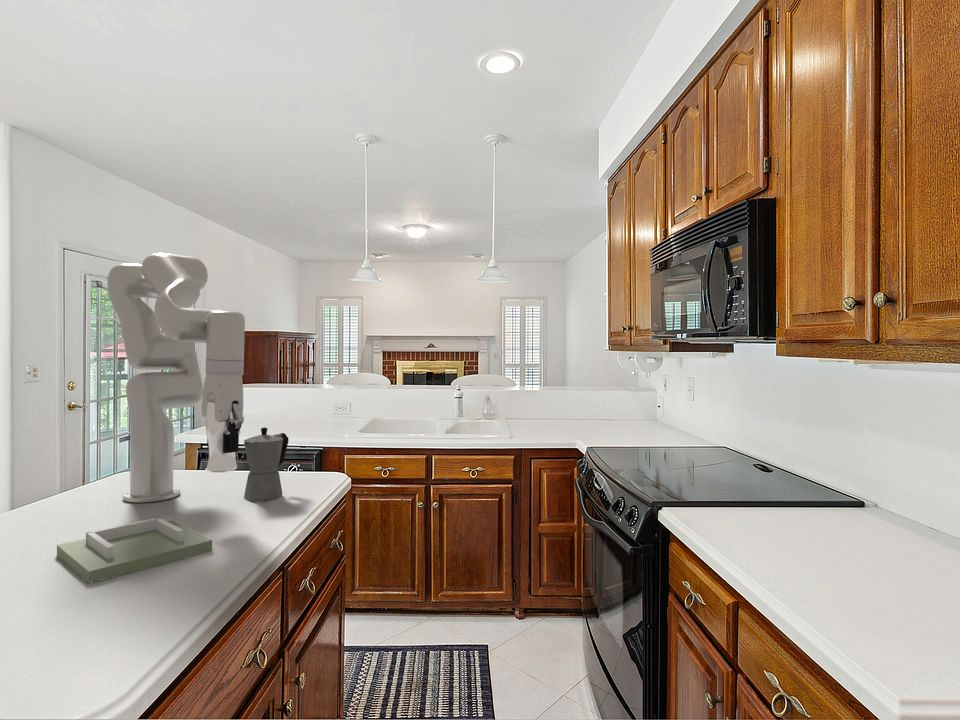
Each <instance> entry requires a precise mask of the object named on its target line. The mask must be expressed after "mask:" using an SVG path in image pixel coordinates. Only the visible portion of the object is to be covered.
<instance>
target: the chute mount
mask: <svg viewBox="0 0 960 720" xmlns="http://www.w3.org/2000/svg"><path fill="white" fill-rule="evenodd" d="M212 551H213V539H211V538H210V537H209V538H208V537H207V536H205V535H203V534H201V533H199V532H197V531H195V530H193V529H191V528H189V527H187V526H186V525H183V524H181V523H179V522H177V521H175V520H173V519H172V520H167V521H166V520H165V519H163V518H161V517H159V516H158V517H153V518H149V519H144V520H140V521H135V522H130V523H125V524H121V525H116V526H111V527H106V528H101V529H96V530H91V531H87V532H85V538H84V539H83V538H82V539H79V540H73V541H69V542H68V541H67V542H65V543H59V544H56V556H57V557H58V558H59V559H60V560H61V561H62V562H64V564H66V566H68V567H69V568H70V567H71V568H72V569H71V568H70V569H71V570H72V571H73V572H75V573H76V574H77V575H78V574H79V575H80V578H81V579H83V580H84V579H85V580H86V581H87V582H86V581H85V580H84V581H85V582H86V583H88V584H89V583H90V584H92V583H91V582H93V583H96V582H95V581H97V582H99V581H98V580H101V579H105V578H108V579H110V578H109V577H112V578H114V577H113V576H116V577H118V576H117V575H120V576H122V574H123V575H126V574H125V573H127V574H129V572H131V573H133V571H134V572H138V571H141V569H142V570H145V569H144V568H146V569H149V568H152V567H151V566H153V567H156V566H160V564H161V565H164V564H167V562H168V563H171V561H172V562H175V561H178V560H177V559H179V560H182V559H181V558H183V559H186V558H185V557H187V558H190V557H194V556H196V555H197V554H198V555H201V554H205V553H208V552H212ZM204 552H205V553H204ZM193 555H194V556H193ZM189 556H190V557H189ZM174 560H175V561H174ZM148 567H149V568H148ZM137 570H138V571H137ZM79 575H78V576H79ZM105 580H106V579H105ZM101 581H102V580H101Z"/></svg>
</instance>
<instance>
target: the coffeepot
mask: <svg viewBox="0 0 960 720" xmlns="http://www.w3.org/2000/svg"><path fill="white" fill-rule="evenodd" d="M260 432H261V434H259V435H254V436H252V437H248V438H246V439H244V440H243V446H244V448H245V454H246V463H247V466H248V467H249V473H247V474H248V475H247V479H246V485H245V490H244V496H243V498H244V499H245V500H246V501H248V502H254V501H255V503H256V502H257V503H259V502H260V501H262V502H270V500H271V501H275V500H277V499H280V498H281V497H282V495H283V489H282V483H281V478H280V472H279V470H278V466H279V465H281V464H283V463H284V460H285V457H286V453H287V448H288V444H289V442H290V441H289V437H288V435H287V434H286V433H284V432H281V433H276V434H273V435H272V434H267V433H268V427H261V428H260ZM274 499H275V500H274ZM258 501H259V502H258ZM260 503H261V502H260Z"/></svg>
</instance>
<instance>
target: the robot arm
mask: <svg viewBox="0 0 960 720" xmlns="http://www.w3.org/2000/svg"><path fill="white" fill-rule="evenodd" d="M208 275H209V273H208V270H207V267H206V265H205V263H204V262H203V261H201V260H200V259H199V258H196V257H194V256H189V255H181V254H173V253H166V252H158V253H156V252H155V253H152V254H150V255H148V256H146V257H145V258H144V259H143V260H142V263H141V264H139V263H121V264H120V263H119V264H117V265H114V266H112V268H111V269H110V270H109V272H108V276H107V280H106V281H107V282H106V283H107V284H106V285H107V287H106V288H107V293H108V297H109V300H110V302H111V305H112V307H113V309H114V311H115V314H116V315H117V317H118V320H119V323H120V328H121V334H122V339H123V346H124V351H125V355H126V360H127V362H128V365H130V366H131V367H132V368H133V369H136V370H141V371H142V370H144V371H145V370H146V371H147V370H148V371H149V370H151V372H141V373H138V374H135V375H133V376H131V377H130V378H129V379H128V381H127V383H126V386H125V394H126V400H127V401H126V402H127V406H128V411H129V412H128V413H129V425H130V427H129V429H130V430H129V433H130V434H129V435H130V440H129V441H130V442H129V443H130V445H129V446H130V448H129V451H130V452H129V456H130V457H129V458H130V461H129V462H130V463H129V465H130V468H129V470H130V472H129V473H130V474H129V475H130V476H129V480H130V481H129V482H130V483H129V489H130V490H128V491H125V492H124V493H123V494H122V500H123V501H124V502H128V503H138V504H139V503H141V504H142V503H153V502H155V503H156V502H160V501H165V500H170V499H173V498H176V497H177V496H179V495H180V493H181V488H179V487H177V486H174V453H175V452H174V445H175V444H174V442H175V440H174V439H175V437H174V436H175V435H174V425H173V422H172V420H171V419H170V418H169V417H168V416H167V414H166V413H165V412H164V410H171V409H172V410H173V409H184V408H191V407H195V406H197V405H198V404H200V402H202V403H201V415H202V417H203V418H205V419H206V410H207V401H209V402H214V406H215V420H216V421H217V422H223V421H224V429H225V434H224V435H223V453H232V452H236V453H238V451H239V444H240V442H239V441H240V439H239V438H240V434H241V429H242V425H243V423H244V422H245V417H244V415H243V414H244V385H243V376H244V365H245V363H244V361H245V360H244V359H245V336H246V335H245V334H246V333H245V332H246V331H245V328H246V327H245V326H246V319H245V315H244V314H242V313H241V312H238V311H232V310H231V311H228V310H226V311H225V310H215V309H205V308H203V309H202V308H191V307H192V306H194V305H195V304H196V303H197V301H198V299H199V298H200V295H201V291H202V289H203V288H204V287H205V286H206V285H207V281H208ZM142 298H148V299H155V303H154V311H153V309H152V308H151V306H149V304H148V303H146V302H144V300H142ZM196 343H199V344H201V343H202V344H205V345H206V347H205V378H204V383H203V380H202V374H201V370H200V365H199V361H198V357H197V352H196V347H195V345H194V344H196ZM152 370H153V372H152ZM154 370H156V371H157V370H158V371H157V372H156V371H155V372H154ZM159 370H172V371H159ZM231 411H232V413H233V415H234V418H235V419H229V420H227V419H228V417H229V415H230V413H231ZM232 422H234V423H232ZM229 423H232V424H231V426H230V427H229ZM206 441H207V442H206V447H207V448H209V446H208V440H207V439H206Z"/></svg>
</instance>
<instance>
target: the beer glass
mask: <svg viewBox="0 0 960 720" xmlns="http://www.w3.org/2000/svg"><path fill="white" fill-rule="evenodd" d="M229 419H235V418H234V415H233V413H232V411H231V413H230V415H229V417H228V419H227V420H229ZM232 423H234V422H232ZM232 423H229V427H230V426H231V424H232ZM205 433H206V441H207V440H208V446H209V447H208V461H207V464H206V471H207V472H211V473H227V472H233V471H235V470H237V469H238V462H237V456H236V453H237V452H232V453H223V435H224V434H225V429H224V421H223V422H217V421H216V420H215V406H214V402H209V401H207V410H206V418H205Z"/></svg>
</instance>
